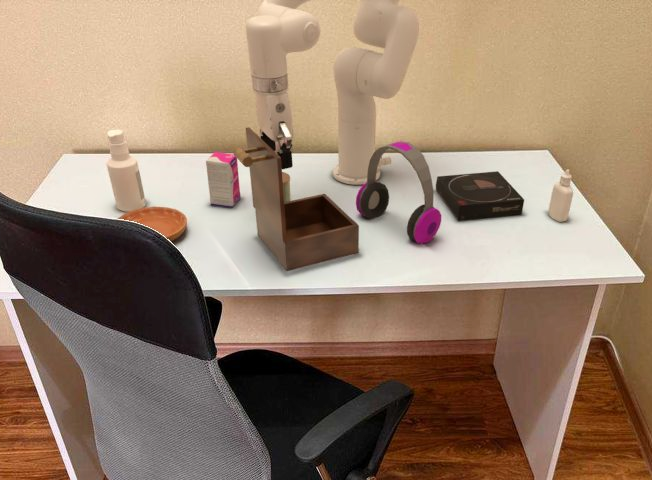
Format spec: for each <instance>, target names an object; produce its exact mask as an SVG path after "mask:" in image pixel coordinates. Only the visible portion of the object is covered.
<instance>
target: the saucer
mask: <svg viewBox="0 0 652 480" xmlns="http://www.w3.org/2000/svg"><path fill="white" fill-rule="evenodd" d="M117 219H124V220H129V221H134V222H137V223H140V224H143V225H145V226H148V227H150V228H152V229H154V230H156V231H158V232H159V233H161V234H162V235H164V236H165V237H166V238H167V239H169V240H170V241H171V242H170V243H172V242H174V241H175V240H177V239H178V238H180V236H181V235H182V234H184V231H186V229H187V227H188V218H187V216H186V214H184V212H182V211H181V210H178V209H176V208H171V207H166V206H149V207H143V208H141V209H137V210H133V211H127V212H126V213H123V214H122V215H120V216H119V217H118V218H117Z"/></svg>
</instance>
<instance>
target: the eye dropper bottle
mask: <svg viewBox="0 0 652 480" xmlns="http://www.w3.org/2000/svg"><path fill="white" fill-rule="evenodd" d="M572 176H573V175H572V174H570V169H565V171H564V173H561V174H560V179H559V182H556V183H555V184H553V187H552V191H551V196H550V201H549V205H548V210H547V214H548V215H549V218H551V219H553V220H554V221H556V222H557V223H558V222H559V223H560V222H561V223H562V222H567V221H568V218H569V215H570V210H571V205H572V202H573V197H574V189H573V187H572V186H571V181H572V178H573V177H572Z"/></svg>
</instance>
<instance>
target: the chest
mask: <svg viewBox="0 0 652 480" xmlns="http://www.w3.org/2000/svg"><path fill="white" fill-rule="evenodd" d="M254 210H255V221H256V232H257V236H258V237H259V238H260V240H261V241H262V242H263V244H264V245H265V246H266V247H267V248H268V249H269V251H270V252H271V253H272V255H273V256H274V257H275V259H276V260H277V261H278V262H279V264H281V266H282V267H283V268H284V270H285V271H286V272H289V271H292V270H296V269H300V268H303V267H309V266H311V265H315V264H319V263H323V262H324V263H325V262H327V261H332V260H335V259H340V258H343V257H348V256H351V255H355V254H359V251H360V250H359V249H360V247H359V245H360V236H359V235H360V225H359V224H358V223H357V222H356V221H355V220H354V219H353V218H352V217H350V216H349V215H348V213H346V212H345V211H344V210H343V209H342V208H341V207H340V206H339V205H338V204H337V203H336V202H335V201H334V200H333V199H331V197H329V196H328V195H327V194H326V193H320V194H315V195H311V196H307V197H302V198H297V199H291V201H288V202H284V211H285V226H286V241H282V240H281V239H280V238H279V236H278V235H277V234H276V233H275V232H274V230H273V229H272V228H271V227H270V226H269V225H268V223H267V222H266V221H265V220H264V219H263V218H262V216H261V215H260V214H259V213H258V212H257V210H256V209H255V208H254Z"/></svg>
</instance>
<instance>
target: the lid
mask: <svg viewBox="0 0 652 480" xmlns="http://www.w3.org/2000/svg"><path fill="white" fill-rule="evenodd" d="M245 137H246V146H247V148H243V147H241V146H236V147H234V148H233V151H232V154H234V155H235V156H236V158H237V161H239V162H240V163H241V164H242V165H243V166H244V167H245V168H249V177H250V187H251V188H250V189H251V196H252V197H251V198H252V206H253V209H254V210H255V209H256V210H257V212H258V213H259V214H260V215H261V216H262V218H263V219H264V220H265V221H266V222H267V223H268V225H269V226H270V227H271V228H272V229H273V230H274V232H275V233H276V234H277V235H278V236H279V238H280V239H281V240H282V241H286V226H285V211H284V195H283V180H282V172H283V169H282V164H281V157H280V156H279V155H278V154H277V152H276V151H273V150H272V149H271V148H270V147H269V146H268V145H267V144H266V143H265V142H264V141H263V140H262V139H261V136H259V135H258V134H257V133H256V132H255V131H254V130H253V129H252V128H251V127H249V126H248V127H245Z"/></svg>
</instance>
